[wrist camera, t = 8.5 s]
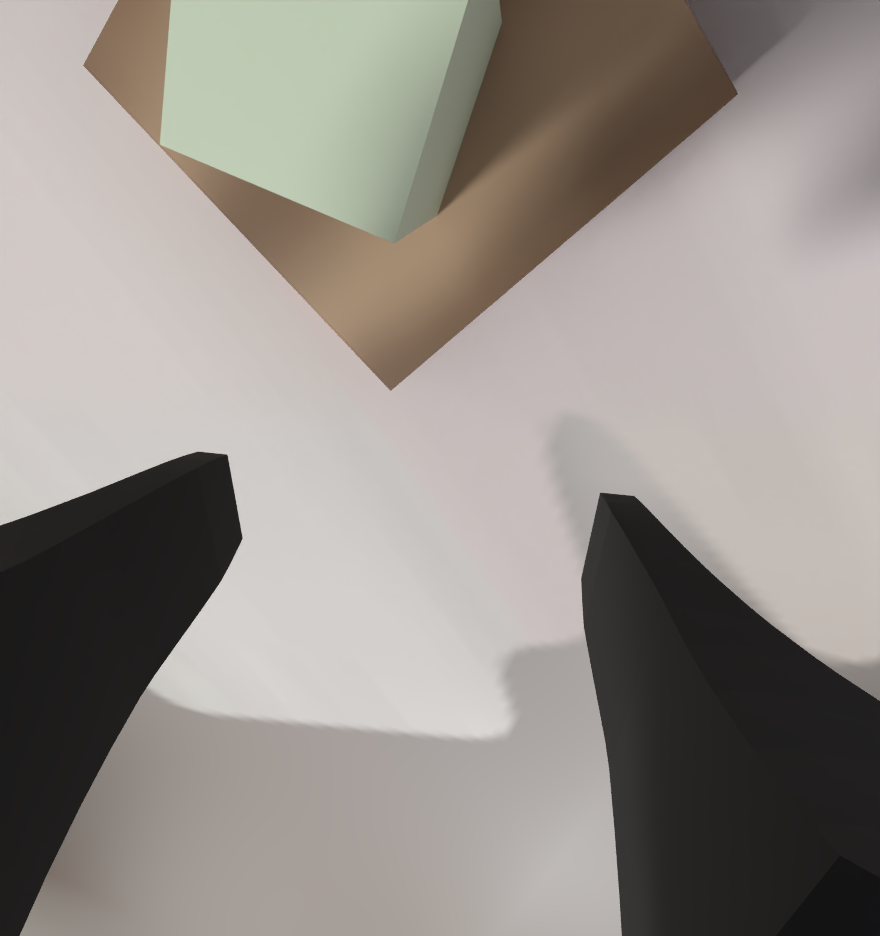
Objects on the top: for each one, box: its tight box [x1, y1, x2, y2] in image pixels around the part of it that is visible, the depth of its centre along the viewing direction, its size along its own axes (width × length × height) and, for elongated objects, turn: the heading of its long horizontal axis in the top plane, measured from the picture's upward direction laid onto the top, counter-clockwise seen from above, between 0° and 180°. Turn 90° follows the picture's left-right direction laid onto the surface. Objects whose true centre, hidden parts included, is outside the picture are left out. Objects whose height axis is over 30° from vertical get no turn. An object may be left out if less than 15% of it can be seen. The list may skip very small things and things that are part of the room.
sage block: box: [160, 0, 502, 243], centre depth 11 cm, size 4×4×6 cm
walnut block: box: [83, 0, 738, 391], centre depth 15 cm, size 12×12×3 cm
